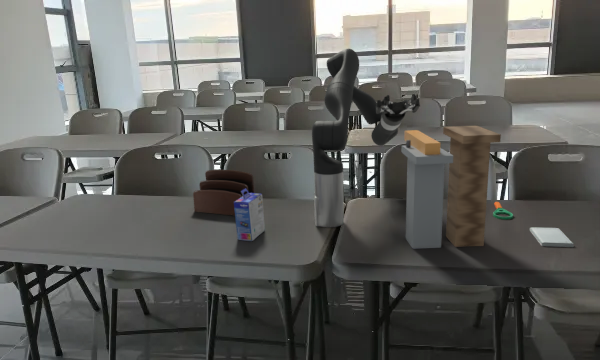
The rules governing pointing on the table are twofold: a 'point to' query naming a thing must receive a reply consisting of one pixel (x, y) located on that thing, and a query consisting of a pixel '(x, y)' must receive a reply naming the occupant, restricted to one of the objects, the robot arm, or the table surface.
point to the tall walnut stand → (468, 183)
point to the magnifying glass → (501, 212)
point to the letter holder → (222, 191)
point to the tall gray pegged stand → (424, 196)
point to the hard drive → (551, 237)
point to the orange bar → (422, 142)
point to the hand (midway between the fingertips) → (401, 97)
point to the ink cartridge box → (249, 216)
